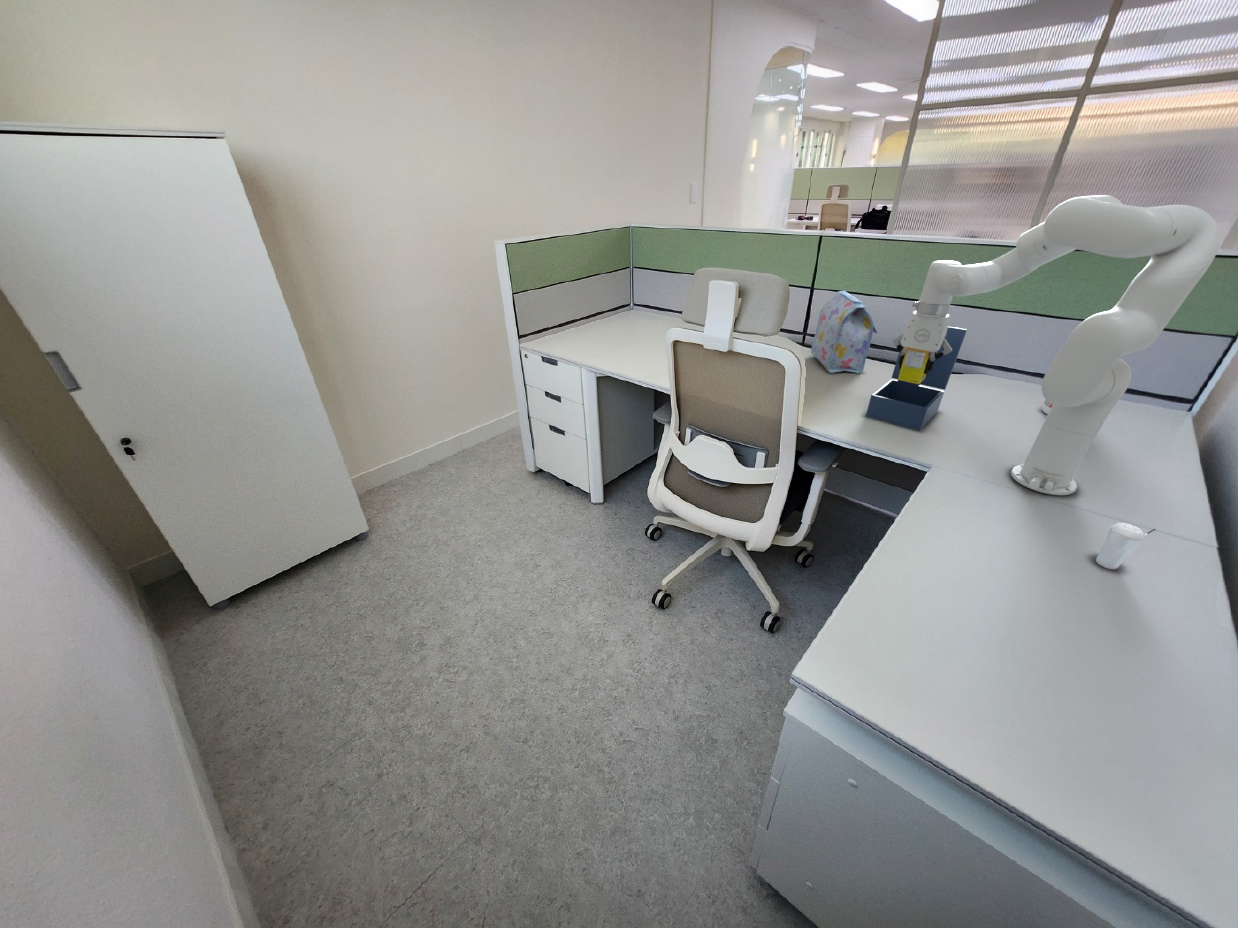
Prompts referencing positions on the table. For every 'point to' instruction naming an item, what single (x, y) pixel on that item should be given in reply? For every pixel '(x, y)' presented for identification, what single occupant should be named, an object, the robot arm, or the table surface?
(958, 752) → the table surface
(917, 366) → the supplement box
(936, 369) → the lunchbox lid
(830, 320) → the lunch bag
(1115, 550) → the milkshake
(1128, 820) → the table surface
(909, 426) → the box
